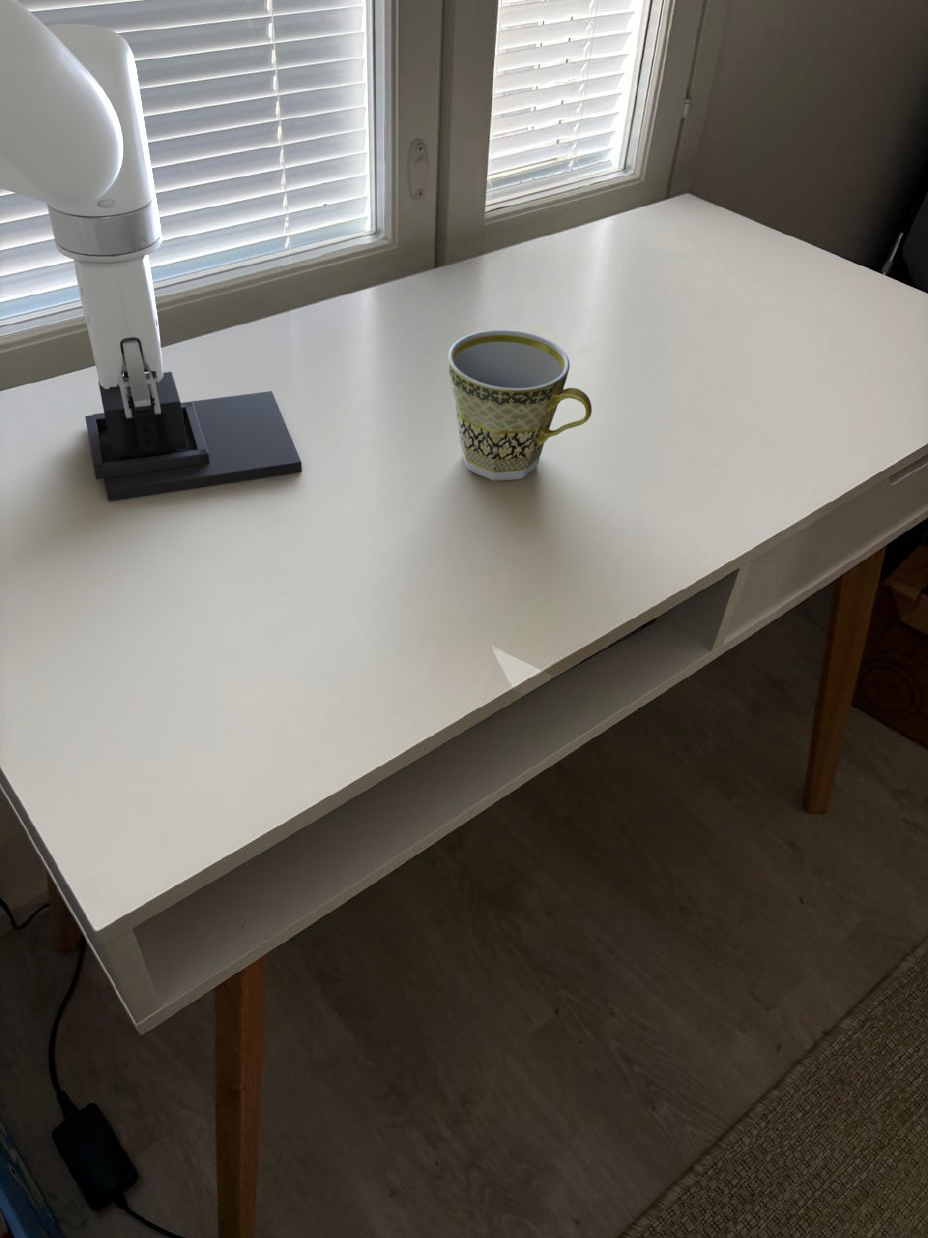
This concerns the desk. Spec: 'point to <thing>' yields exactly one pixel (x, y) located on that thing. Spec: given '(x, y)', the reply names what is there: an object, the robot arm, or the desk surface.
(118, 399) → the dark grey block
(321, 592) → the desk surface
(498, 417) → the ceramic cup
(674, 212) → the desk surface
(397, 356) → the desk surface
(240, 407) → the base pad
